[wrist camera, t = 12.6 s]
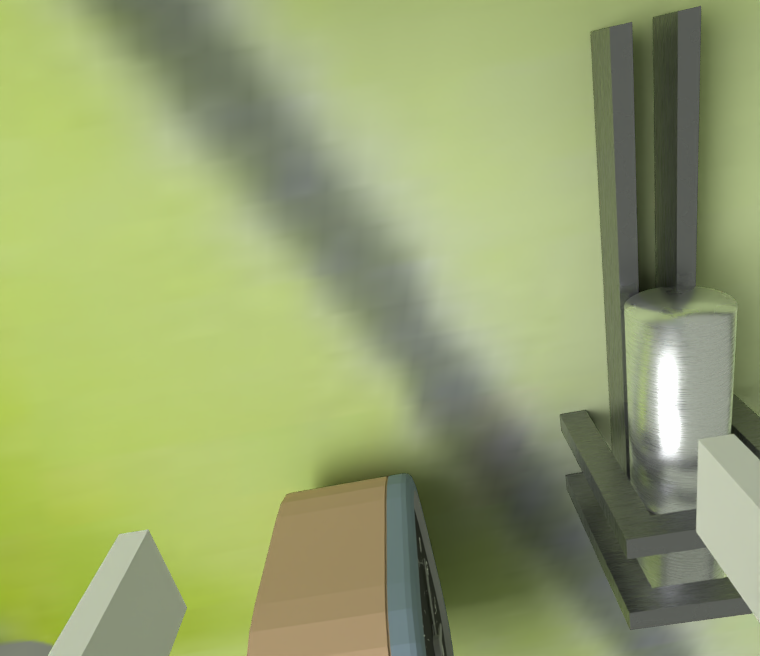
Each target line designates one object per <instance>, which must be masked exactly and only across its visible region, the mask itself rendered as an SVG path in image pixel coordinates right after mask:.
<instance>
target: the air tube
mask: <svg viewBox="0 0 760 656" xmlns="http://www.w3.org/2000/svg"><path fill="white" fill-rule="evenodd" d="M737 309H738V304H737V301H736V300H735V299H734V298H733V297H732V296H730V295H729V294H727V293H725V292H722V291H719V290H716V289H712V288H707V287H699V286H666V287H659V288H654V289H649V290H646V291H643V292H640V293H637V294H635V295H633V296H632V297H630V298H629V299H628V300H627V301H626V302H625V305H624V316H625V344H626V372H627V399H628V427H629V454H630V482H631V484H632V486H633V488H634V489H635V491H636V493H637V494H638V496H639V497H640V499H641V501H642V502H643V504H644V505H645V507H646V509H647V510H648V512H649V514H650V515H658V514H664V513H671V512H678V511H684V510H691V509H697V473H698V439H705V438H711V437H717V436H723V435H729V434H731V425H732V405H733V386H734V367H735V348H736V329H737ZM636 559H637V560H638V562H639V564H640V566H641V568H642V570H643V572H644V574H645V576H646V577H647V579H648V581H649V583H650V585H651V587H652V588H655V587H662V586H669V585H676V584H683V583H690V582H697V581H704V580H712V579H719V578H724V571H723V570H722V568H721V567H720V565H719V564H718V562H717V561H716V560H715V558H714V557H713V555H712V554H711V552H710V551H709V550H708V548H701V549H694V550H687V551H680V552H674V553H667V554H660V555H653V556H646V557H639V558H636Z"/></svg>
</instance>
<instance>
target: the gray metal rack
mask: <svg viewBox="0 0 760 656" xmlns="http://www.w3.org/2000/svg"><path fill="white" fill-rule="evenodd" d="M700 40H701V6H699V7H695V8H690V9H686V10H682V11H677V12H673V13H669V14H665V15H661V16H657V17H653V64H654V155H655V245H656V288H659V287H666V286H696V244H697V193H698V142H699V91H700ZM591 51H592V71H593V90H594V109H595V129H596V148H597V168H598V187H599V207H600V226H601V246H602V265H603V284H604V304H605V323H606V343H607V362H608V382H609V401H610V421H611V440H612V452H611V450H610V449H609V447H608V446H607V444H606V442H605V441H604V439H603V437H602V436H601V434H600V433H599V431H598V429H597V428H596V426H595V425H594V423H593V421H592V420H591V418H590V416H589V415H588V413H587V412H586V410H584V411H578V412H572V413H566V414H560V422H561V431H562V433H563V435H564V437H565V439H566V441H567V442H568V444H569V446H570V448H571V450H572V452H573V454H574V456H575V458H576V460H577V462H578V464H579V466H580V468H581V470H582V473H576V474H570V475H566V485H567V491H568V493H569V495H570V497H571V500H572V502H573V504H574V506H575V509H576V511H577V513H578V515H579V517H580V520H581V522H582V524H583V526H584V528H585V531H586V533H587V535H588V537H589V540H590V542H591V544H592V546H593V548H594V551H595V553H596V555H597V557H598V560H599V562H600V564H601V566H602V568H603V571H604V573H605V575H606V577H607V580H608V582H609V584H610V586H611V588H612V591H613V593H614V595H615V597H616V600H617V602H618V604H619V606H620V608H621V611H622V613H623V615H624V617H625V619H626V622H627V624H628V626H629V628H630V630H633V629H640V628H648V627H655V626H662V625H670V624H677V623H685V622H692V621H699V620H707V619H714V618H722V617H729V616H736V615H744V614H751V613H752V611H751V610H750V608H749V607H748V605H747V604H746V603H745V601H744V600H743V598H742V597H741V595H740V594H739V593H738V591H737V590H736V588H735V587H734V585H733V584H732V583H731V581H730V580H729V578H728V577H726V578H719V579H712V580H704V581H697V582H690V583H683V584H676V585H669V586H662V587H655V588H652V587H651V585H650V583H649V581H648V579H647V577H646V576H645V574H644V572H643V570H642V568H641V566H640V564H639V562H638V560H637V559H636V558H639V557H646V556H653V555H660V554H667V553H674V552H680V551H687V550H694V549H701V548H707V547H706V545H705V544H704V542H703V541H702V539H701V538H700V537H699V535H698V534H697V532H696V514H697V509H691V510H684V511H678V512H671V513H664V514H658V515H650V514H649V512H648V510H647V509H646V507H645V505H644V504H643V502H642V501H641V499H640V497H639V496H638V494H637V493H636V491H635V489H634V488H633V486H632V484H631V482H630V454H629V427H628V399H627V372H626V344H625V316H624V305H625V302H626V301H627V300H628V299H629V298H630V297H632V296H633V295H635V294H637V293H639V281H638V240H637V199H636V158H635V117H634V76H633V36H632V22H630V23H626V24H621V25H617V26H613V27H608V28H604V29H600V30H596V31H593V32H591ZM731 434H734V435H735V436H736V437H737V438H738V439H739V440H740V441H741V442H742V443H743V444H744V445H745V446H746V447H747V448H748V449H749V450H750V451H751V452H752V453H753V454H754V455H755V456H756V457H757V458H758V459H759V460H760V417H759V416H758V415H757V414H756V413H754V412H753V411H752V410H751V409H750V408H749V407H748V406H747V405H745V404H744V403H743V402H742V401H741V400H740V399H739V398H738V397H736V396H735V395H734V394H733V405H732V425H731Z"/></svg>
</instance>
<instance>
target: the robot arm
mask: <svg viewBox="0 0 760 656" xmlns="http://www.w3.org/2000/svg"><path fill="white" fill-rule="evenodd" d="M696 532H697V534H698V535H699V537H700V538H701V539H702V541H703V542H704V544H705V545H706V547H707V548H708V550H709V551H710V552H711V554H712V555H713V557H714V558H715V560H716V561H717V562H718V564H719V565H720V567H721V568H722V570H723V571H724V572H725V574H726V575H727V577H728V578H729V580H730V581H731V583H732V584H733V585H734V587H735V588H736V590H737V591H738V593H739V594H740V595H741V597H742V598H743V600H744V601H745V603H746V604H747V605H748V607H749V608H750V610H751V611H752V613H753V614H754V616H755V617H756V618H757V620H758V621H759V623H760V460H759V459H758V458H757V457H756V456H755V455H754V454H753V453H752V452H751V451H750V450H749V449H748V448H747V447H746V446H745V445H744V444H743V443H742V442H741V441H740V440H739V439H738V438H737V437H736V436H735V435H734V434H729V435H723V436H717V437H711V438H705V439H698V473H697V514H696ZM186 609H187V607H186V605H185V603H184V601H183V599H182V596H181V594H180V592H179V590H178V588H177V586H176V584H175V582H174V580H173V578H172V576H171V574H170V572H169V570H168V568H167V566H166V564H165V562H164V560H163V558H162V556H161V554H160V552H159V550H158V548H157V546H156V544H155V542H154V540H153V538H152V536H151V534H150V532H149V530H142V531H136V532H130V533H124V534H119V535H118V537H117V539H116V541H115V542H114V544H113V546H112V547H111V549H110V551H109V552H108V554H107V556H106V557H105V559H104V561H103V563H102V564H101V566H100V568H99V569H98V571H97V573H96V574H95V576H94V578H93V580H92V581H91V583H90V585H89V586H88V588H87V590H86V591H85V593H84V595H83V597H82V598H81V600H80V602H79V603H78V605H77V607H76V608H75V610H74V612H73V614H72V615H71V617H70V619H69V620H68V622H67V624H66V625H65V627H64V629H63V631H62V632H61V634H60V636H59V637H58V639H57V641H56V642H55V644H54V646H53V648H52V649H51V651H50V653H49V654H48V656H169V654H170V651H171V649H172V646H173V643H174V641H175V638H176V635H177V633H178V630H179V627H180V625H181V622H182V619H183V617H184V614H185V612H186Z"/></svg>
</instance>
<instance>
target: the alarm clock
mask: <svg viewBox="0 0 760 656" xmlns="http://www.w3.org/2000/svg"><path fill="white" fill-rule="evenodd" d="M247 656H454V654H453V647H452V641H451V635H450V629H449V623H448V618H447V612H446V607H445V603H444V598H443V594H442V589H441V585H440V580H439V576H438V572H437V568H436V564H435V560H434V556H433V552H432V548H431V544H430V539H429V535H428V531H427V527H426V523H425V519H424V515H423V511H422V507H421V503H420V500H419V496H418V492H417V488H416V485H415V483H414V481H413V479H412V476H410V475H409V474H406V473H402V474H396V475H391V476H385V477H379V478H373V479H368V480H362V481H356V482H350V483H345V484H339V485H333V486H327V487H322V488H316V489H310V490H304V491H299V492H293V493H289V494H287V495H286V496H285V498H284V500H283V501H282V503H281V505H280V508H279V512H278V515H277V518H276V522H275V526H274V530H273V534H272V538H271V542H270V546H269V550H268V554H267V558H266V562H265V566H264V570H263V574H262V578H261V582H260V586H259V590H258V594H257V598H256V602H255V607H254V612H253V617H252V622H251V627H250V632H249V641H248V650H247Z"/></svg>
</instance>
